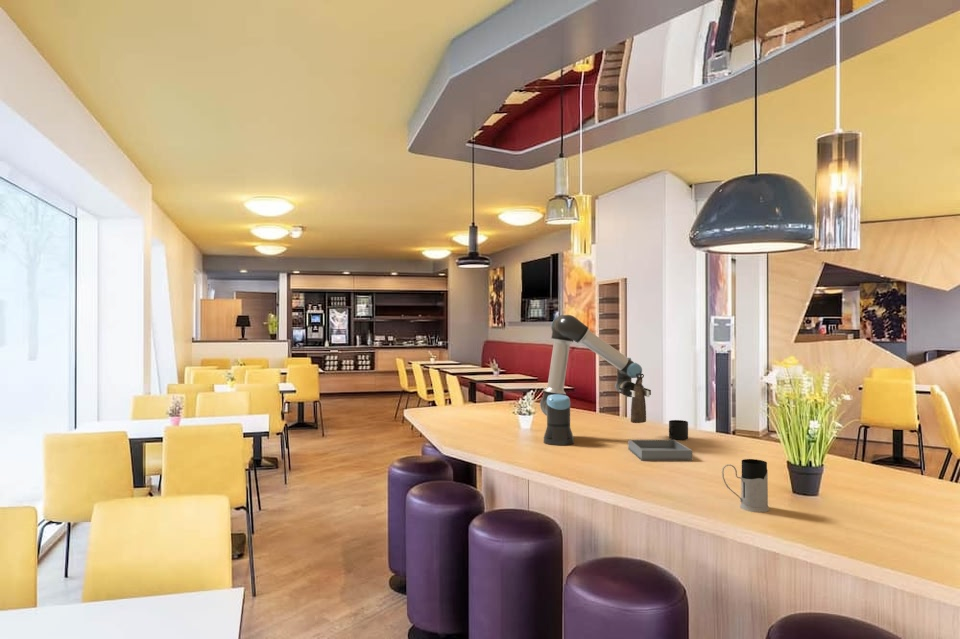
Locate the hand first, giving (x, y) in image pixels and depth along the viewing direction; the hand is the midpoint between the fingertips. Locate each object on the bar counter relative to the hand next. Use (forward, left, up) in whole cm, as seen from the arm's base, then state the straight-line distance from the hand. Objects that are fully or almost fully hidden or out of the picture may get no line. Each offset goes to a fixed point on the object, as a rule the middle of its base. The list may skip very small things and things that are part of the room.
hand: (641, 394), depth 288 cm
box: (+4, -13, -26) cm, 29 cm away
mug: (+24, +24, -26) cm, 43 cm away
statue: (0, +5, -14) cm, 15 cm away
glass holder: (+9, -92, -26) cm, 96 cm away
